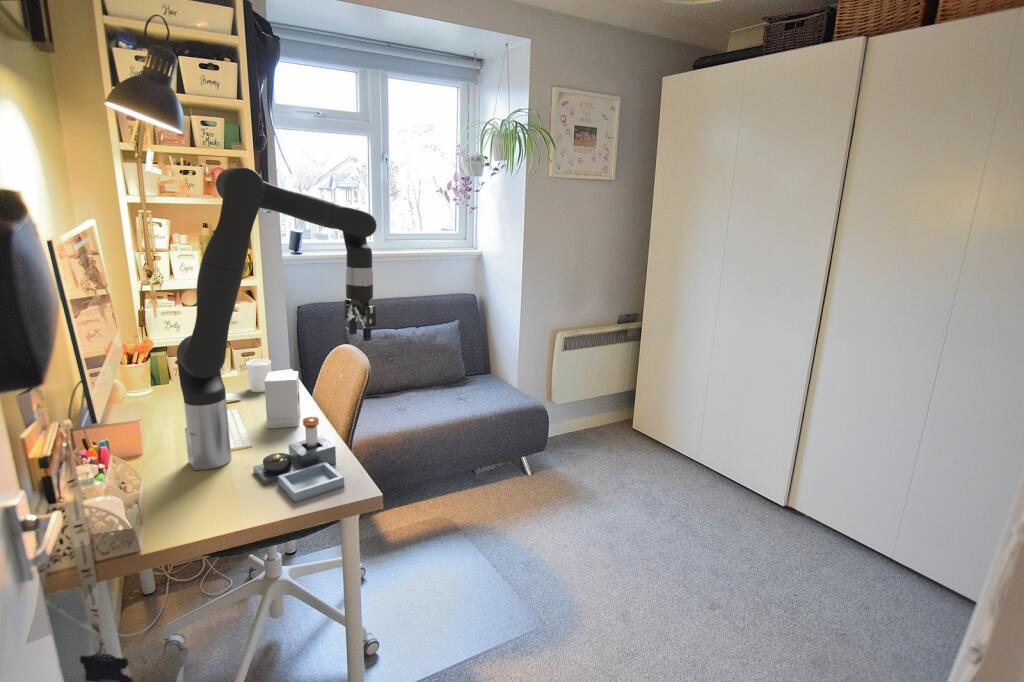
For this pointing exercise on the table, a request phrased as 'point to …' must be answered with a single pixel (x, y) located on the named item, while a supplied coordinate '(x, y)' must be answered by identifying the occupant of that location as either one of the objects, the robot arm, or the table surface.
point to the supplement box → (282, 399)
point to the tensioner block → (295, 460)
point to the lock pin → (311, 432)
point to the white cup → (258, 373)
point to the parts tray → (310, 481)
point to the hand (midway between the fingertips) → (359, 337)
